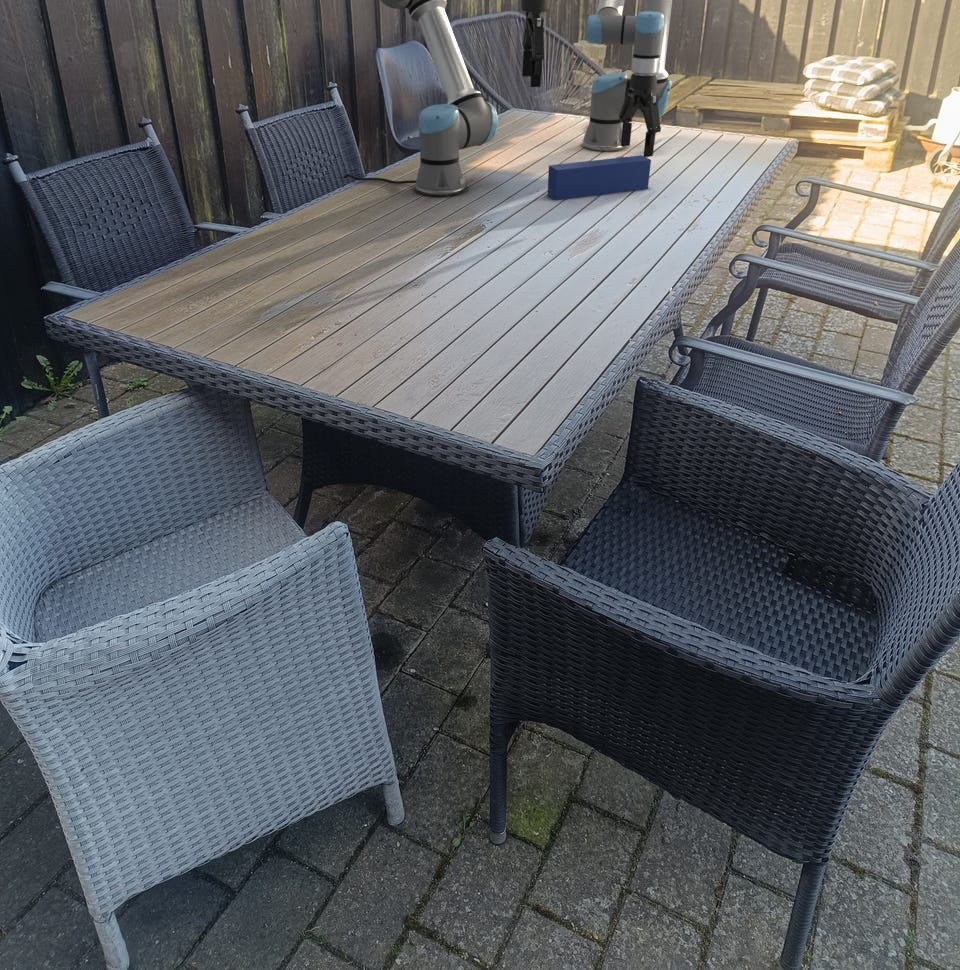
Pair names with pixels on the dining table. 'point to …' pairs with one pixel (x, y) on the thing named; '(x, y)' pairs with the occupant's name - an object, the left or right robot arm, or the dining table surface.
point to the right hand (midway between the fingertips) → (636, 151)
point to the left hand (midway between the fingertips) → (531, 81)
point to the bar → (598, 177)
